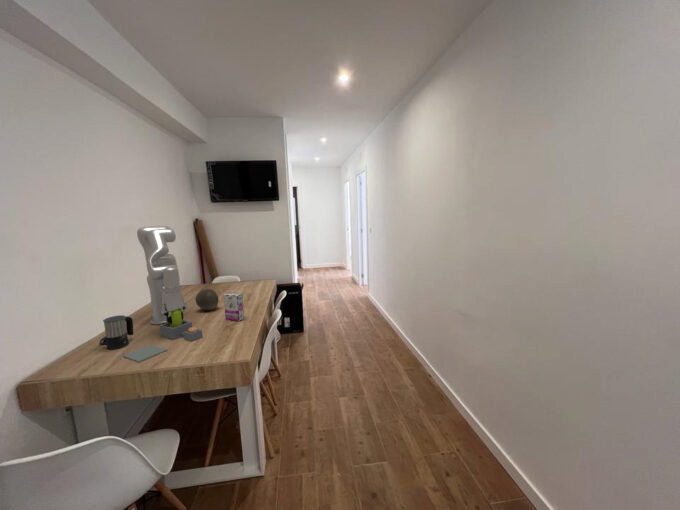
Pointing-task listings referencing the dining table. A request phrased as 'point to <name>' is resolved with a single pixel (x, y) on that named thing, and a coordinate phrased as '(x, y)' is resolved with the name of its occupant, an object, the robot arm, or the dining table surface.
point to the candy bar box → (234, 306)
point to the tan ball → (192, 329)
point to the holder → (180, 331)
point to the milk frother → (117, 331)
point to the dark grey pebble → (207, 299)
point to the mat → (145, 353)
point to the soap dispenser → (176, 318)
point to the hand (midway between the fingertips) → (175, 320)
